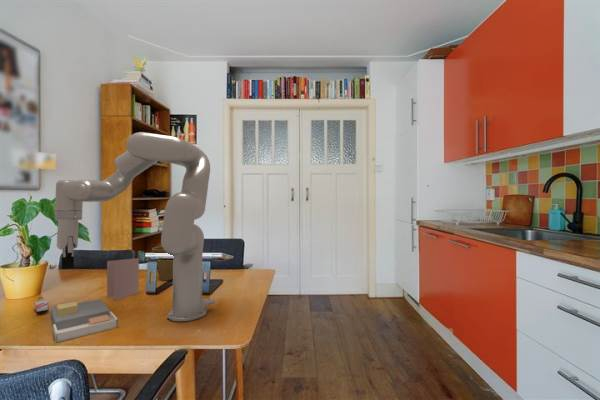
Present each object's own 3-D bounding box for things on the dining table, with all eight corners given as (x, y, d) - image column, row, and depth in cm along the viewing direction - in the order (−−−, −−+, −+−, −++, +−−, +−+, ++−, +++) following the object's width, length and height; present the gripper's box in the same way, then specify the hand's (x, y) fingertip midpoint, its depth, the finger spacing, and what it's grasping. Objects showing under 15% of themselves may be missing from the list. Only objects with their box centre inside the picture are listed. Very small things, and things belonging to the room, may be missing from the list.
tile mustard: (75, 308, 100) (75, 301, 100) (77, 312, 97) (77, 305, 97) (56, 312, 97) (56, 305, 97) (58, 317, 93) (58, 309, 93)
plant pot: (188, 278, 151) (189, 247, 151) (158, 284, 140) (158, 250, 140) (177, 273, 161) (177, 244, 161) (148, 278, 151) (148, 247, 151)
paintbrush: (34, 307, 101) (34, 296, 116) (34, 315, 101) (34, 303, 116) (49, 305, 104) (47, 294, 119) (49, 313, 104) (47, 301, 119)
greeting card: (138, 292, 128) (138, 257, 128) (140, 296, 122) (140, 260, 122) (106, 297, 122) (107, 260, 122) (107, 302, 116) (107, 263, 116)
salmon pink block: (110, 318, 92) (110, 327, 92) (107, 314, 95) (107, 322, 95) (91, 323, 88) (91, 332, 88) (88, 318, 92) (88, 326, 92)
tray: (111, 318, 99) (111, 311, 99) (117, 327, 93) (117, 319, 93) (53, 332, 89) (53, 324, 89) (55, 343, 82) (56, 334, 82)
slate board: (99, 307, 110) (99, 299, 110) (109, 319, 99) (109, 310, 99) (50, 317, 101) (50, 308, 101) (55, 332, 89) (55, 322, 89)
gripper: (52, 214, 106) (51, 266, 106) (57, 217, 95) (56, 274, 95) (78, 214, 111) (77, 263, 111) (86, 216, 101) (84, 270, 101)
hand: (67, 268), depth 103 cm, fingers closed
